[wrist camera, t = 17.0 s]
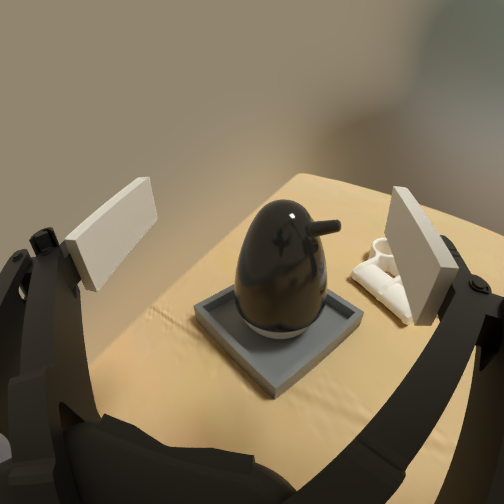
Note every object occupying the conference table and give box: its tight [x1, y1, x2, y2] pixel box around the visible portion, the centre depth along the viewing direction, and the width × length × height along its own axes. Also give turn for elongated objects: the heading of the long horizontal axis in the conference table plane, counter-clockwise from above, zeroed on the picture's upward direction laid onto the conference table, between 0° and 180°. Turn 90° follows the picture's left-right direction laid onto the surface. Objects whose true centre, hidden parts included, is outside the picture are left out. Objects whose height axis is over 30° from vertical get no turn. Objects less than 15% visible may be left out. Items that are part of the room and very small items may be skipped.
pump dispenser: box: [234, 200, 341, 339], centre depth 29 cm, size 10×10×15 cm
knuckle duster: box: [351, 238, 438, 325], centre depth 38 cm, size 3×18×15 cm
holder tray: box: [194, 284, 364, 399], centre depth 33 cm, size 15×15×2 cm
